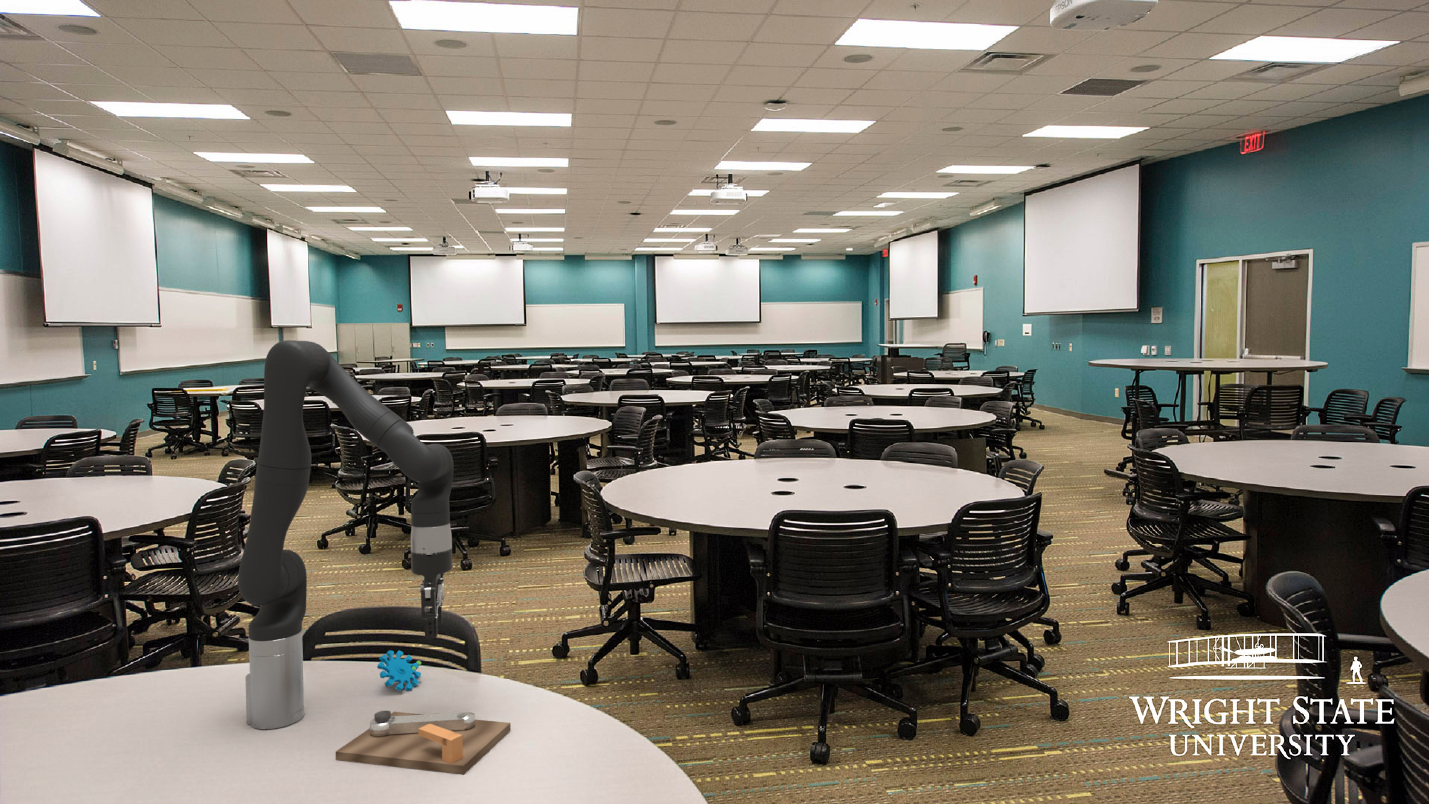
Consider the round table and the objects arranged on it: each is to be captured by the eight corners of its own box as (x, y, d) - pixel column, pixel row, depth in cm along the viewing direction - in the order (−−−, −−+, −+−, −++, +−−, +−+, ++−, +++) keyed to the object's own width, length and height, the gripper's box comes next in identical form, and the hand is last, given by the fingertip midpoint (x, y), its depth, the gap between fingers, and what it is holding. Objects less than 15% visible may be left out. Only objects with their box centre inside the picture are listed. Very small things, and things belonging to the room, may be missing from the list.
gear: (394, 692, 167) (373, 652, 170) (378, 709, 168) (357, 669, 172) (433, 681, 177) (413, 643, 180) (418, 697, 178) (398, 660, 182)
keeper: (418, 750, 141) (418, 728, 141) (430, 745, 143) (429, 723, 143) (451, 763, 136) (451, 740, 136) (462, 757, 138) (462, 735, 138)
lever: (367, 737, 146) (366, 726, 146) (374, 726, 150) (373, 716, 150) (472, 730, 148) (472, 720, 148) (476, 720, 153) (476, 710, 152)
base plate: (335, 759, 141) (335, 732, 141) (394, 719, 157) (393, 694, 157) (463, 774, 135) (463, 745, 135) (510, 730, 152) (510, 704, 152)
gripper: (416, 541, 161) (419, 622, 161) (404, 556, 147) (407, 645, 147) (455, 538, 162) (457, 619, 163) (447, 554, 148) (449, 642, 149)
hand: (433, 631), depth 155 cm, fingers open, 7 cm apart
